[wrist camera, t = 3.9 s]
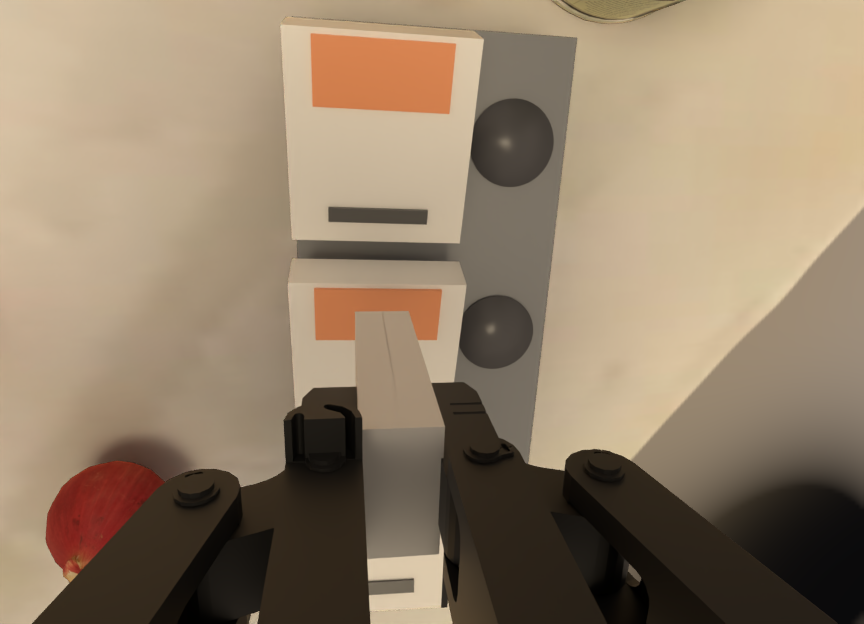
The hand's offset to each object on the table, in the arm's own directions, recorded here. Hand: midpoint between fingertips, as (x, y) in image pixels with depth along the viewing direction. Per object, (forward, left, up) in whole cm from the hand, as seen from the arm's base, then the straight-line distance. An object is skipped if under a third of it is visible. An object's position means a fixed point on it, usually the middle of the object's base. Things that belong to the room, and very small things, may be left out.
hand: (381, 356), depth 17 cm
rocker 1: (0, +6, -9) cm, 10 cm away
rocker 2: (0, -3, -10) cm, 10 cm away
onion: (-13, -14, -16) cm, 26 cm away
